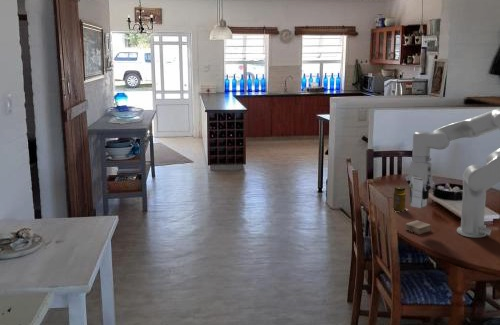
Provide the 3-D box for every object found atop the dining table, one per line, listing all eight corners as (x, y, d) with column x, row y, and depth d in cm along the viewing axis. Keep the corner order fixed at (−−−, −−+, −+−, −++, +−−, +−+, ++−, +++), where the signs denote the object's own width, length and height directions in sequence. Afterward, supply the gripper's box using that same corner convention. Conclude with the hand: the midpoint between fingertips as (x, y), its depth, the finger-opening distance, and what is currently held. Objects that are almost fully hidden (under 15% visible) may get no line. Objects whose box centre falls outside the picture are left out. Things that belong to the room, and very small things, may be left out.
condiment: (408, 209, 267) (409, 187, 264) (397, 213, 262) (398, 190, 260) (397, 206, 273) (398, 184, 270) (386, 209, 268) (387, 187, 265)
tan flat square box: (430, 230, 237) (430, 224, 236) (419, 234, 232) (419, 228, 232) (416, 226, 243) (416, 220, 242) (405, 229, 239) (405, 223, 238)
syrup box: (415, 203, 239) (417, 173, 236) (427, 205, 235) (429, 175, 232) (409, 206, 235) (410, 175, 232) (421, 208, 231) (423, 177, 228)
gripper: (442, 161, 225) (440, 199, 229) (411, 154, 239) (409, 191, 243) (431, 163, 221) (429, 203, 225) (400, 156, 235) (398, 194, 239)
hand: (419, 196), depth 234 cm, fingers closed on syrup box, 6 cm apart
